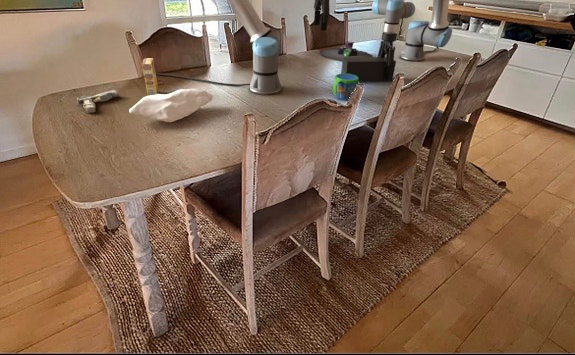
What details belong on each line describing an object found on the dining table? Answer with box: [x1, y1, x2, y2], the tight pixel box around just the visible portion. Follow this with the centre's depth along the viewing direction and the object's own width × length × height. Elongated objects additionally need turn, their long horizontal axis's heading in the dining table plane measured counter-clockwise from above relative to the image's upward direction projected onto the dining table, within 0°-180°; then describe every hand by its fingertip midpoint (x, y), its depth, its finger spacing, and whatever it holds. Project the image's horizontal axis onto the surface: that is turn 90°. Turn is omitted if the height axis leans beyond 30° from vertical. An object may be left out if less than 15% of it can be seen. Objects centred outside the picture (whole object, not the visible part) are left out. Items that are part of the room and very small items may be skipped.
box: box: [340, 56, 397, 83], centre depth 195 cm, size 27×9×11 cm, turn 100°
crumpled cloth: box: [129, 88, 214, 123], centre depth 147 cm, size 24×35×9 cm
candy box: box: [141, 57, 160, 96], centre depth 163 cm, size 9×4×15 cm, turn 13°
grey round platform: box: [319, 40, 374, 61], centre depth 239 cm, size 35×35×9 cm
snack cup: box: [331, 73, 359, 101], centre depth 169 cm, size 16×10×10 cm
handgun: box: [76, 89, 120, 114], centre depth 155 cm, size 3×18×15 cm
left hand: (319, 27), depth 174 cm, fingers open, 13 cm apart
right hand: (382, 76), depth 199 cm, fingers closed on box, 9 cm apart
